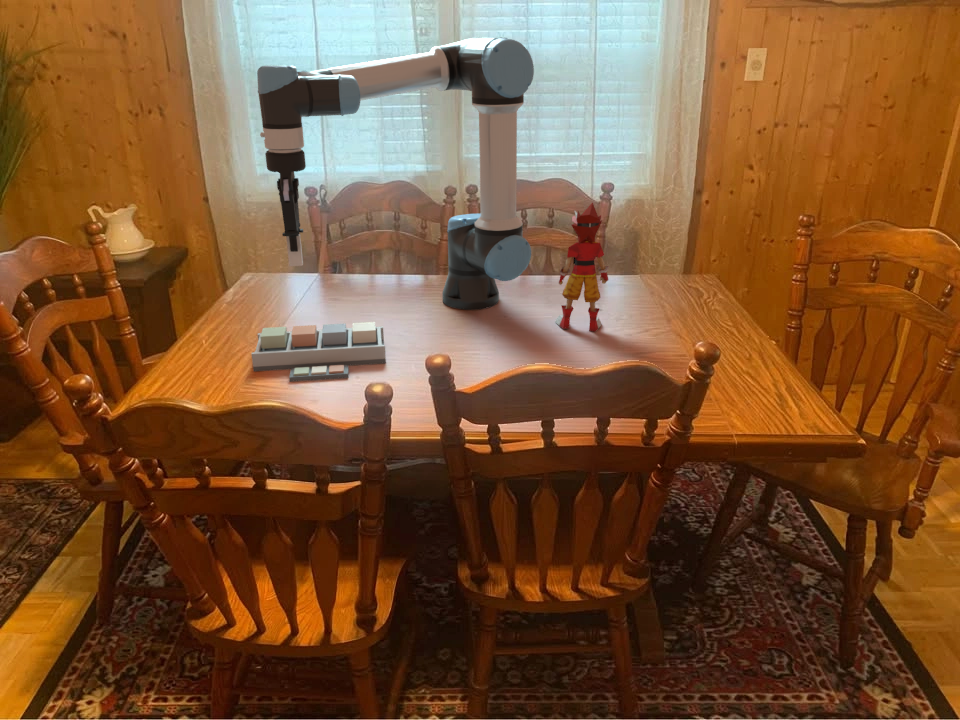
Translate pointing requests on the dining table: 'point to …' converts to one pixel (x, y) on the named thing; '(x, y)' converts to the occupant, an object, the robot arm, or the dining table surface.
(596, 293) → the toy
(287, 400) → the dining table surface
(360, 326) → the key cream
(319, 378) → the plaque
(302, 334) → the key terracotta
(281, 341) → the key sage
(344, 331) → the key slate
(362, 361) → the grey base
